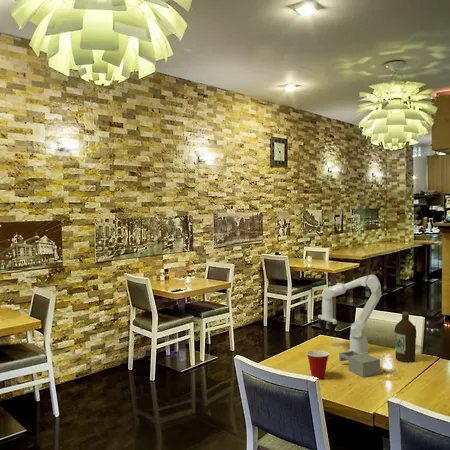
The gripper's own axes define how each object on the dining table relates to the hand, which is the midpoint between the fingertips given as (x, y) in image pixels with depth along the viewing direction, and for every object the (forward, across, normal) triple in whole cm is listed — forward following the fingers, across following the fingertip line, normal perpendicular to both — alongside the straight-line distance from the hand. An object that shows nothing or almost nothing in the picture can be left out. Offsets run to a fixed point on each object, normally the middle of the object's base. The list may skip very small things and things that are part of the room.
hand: (327, 333), depth 247 cm
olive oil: (+10, +30, +27) cm, 41 cm away
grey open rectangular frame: (+9, +30, -4) cm, 32 cm away
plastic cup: (+10, +30, -28) cm, 42 cm away
